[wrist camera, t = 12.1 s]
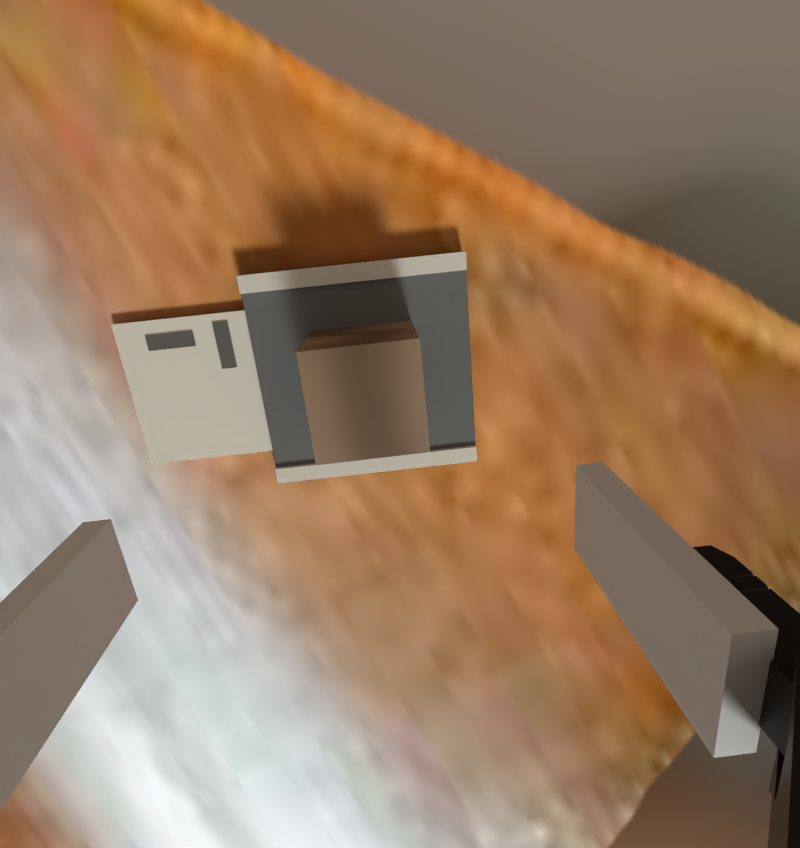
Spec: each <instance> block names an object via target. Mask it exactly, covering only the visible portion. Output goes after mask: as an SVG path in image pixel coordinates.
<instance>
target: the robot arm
mask: <svg viewBox="0 0 800 848" xmlns="http://www.w3.org/2000/svg"><path fill="white" fill-rule="evenodd" d="M575 550H576V551H577V553H578V554H579V556H580V557H581V559H582V560H583V562H584V563H585V565H586V566H587V568H588V569H589V571H590V572H591V574H592V575H593V577H594V578H595V580H596V581H597V583H598V584H599V586H600V587H601V589H602V590H603V592H604V593H605V595H606V596H607V598H608V599H609V601H610V602H611V604H612V605H613V607H614V608H615V610H616V611H617V613H618V614H619V616H620V617H621V619H622V620H623V622H624V623H625V625H626V626H627V628H628V629H629V631H630V632H631V634H632V635H633V637H634V638H635V640H636V641H637V643H638V644H639V646H640V647H641V649H642V650H643V652H644V653H645V655H646V656H647V658H648V660H649V661H650V663H651V664H652V666H653V667H654V669H655V670H656V672H657V673H658V675H659V676H660V678H661V679H662V681H663V682H664V684H665V685H666V687H667V688H668V690H669V691H670V693H671V694H672V696H673V697H674V699H675V700H676V702H677V703H678V705H679V706H680V708H681V709H682V711H683V712H684V714H685V715H686V717H687V718H688V720H689V721H690V723H691V724H692V726H693V727H694V729H695V730H696V732H697V733H698V735H699V736H700V738H701V739H702V741H703V742H704V744H705V745H706V747H707V748H708V750H709V751H710V752H711V754H712V756H713V757H714V758H715V757H723V756H731V755H739V754H747V753H755V752H756V749H757V744H758V738H759V733H760V728H762V729H763V730H764V732H765V733H766V734H767V735H768V737H769V738H770V739H771V740H772V742H773V743H774V744H775V745H776V747H777V753H776V758H775V763H774V768H773V773H772V778H771V783H770V787H769V792H771V793H772V802H771V814H770V826H769V838H768V848H800V614H799V613H798V612H797V611H796V610H795V609H793V608H792V607H791V606H790V605H789V604H788V603H787V602H785V601H784V600H783V599H782V598H781V597H780V596H778V595H777V594H776V593H775V592H774V591H773V590H772V589H768V588H767V585H766V584H765V583H763V582H762V581H761V580H760V579H759V578H758V577H757V576H753V574H752V572H751V571H750V570H748V569H747V568H746V567H745V566H744V565H743V564H742V563H740V562H739V561H738V560H737V559H736V558H735V557H733V556H731V555H729V554H727V553H725V552H723V551H721V550H719V549H717V548H715V547H713V546H711V545H709V546H701V547H692V546H691V545H690V544H689V543H688V542H686V541H685V540H684V539H683V538H682V537H681V536H680V535H679V534H678V533H677V532H676V531H675V530H674V529H673V528H672V527H671V526H670V525H669V524H668V523H666V522H665V521H664V520H663V519H662V518H661V517H660V516H659V515H658V514H657V513H656V512H655V511H654V510H653V509H652V508H651V507H650V506H649V505H647V504H646V503H645V502H644V501H643V500H642V499H641V498H640V497H639V496H638V495H637V494H636V493H635V492H634V491H633V490H632V489H631V488H630V487H628V486H627V485H626V484H625V483H624V482H623V481H622V480H621V479H620V478H619V477H618V476H617V475H616V474H615V473H614V472H613V471H612V470H611V469H610V468H608V467H607V466H606V465H605V464H604V463H603V462H599V463H590V464H581V465H576V493H575ZM137 601H138V599H137V596H136V593H135V590H134V587H133V584H132V581H131V578H130V575H129V572H128V569H127V566H126V563H125V560H124V557H123V554H122V551H121V549H120V546H119V543H118V540H117V537H116V534H115V531H114V528H113V525H112V522H111V519H108V520H100V521H91V522H83V523H82V524H81V525H80V526H79V527H78V528H77V529H76V530H75V531H74V532H73V533H72V534H71V535H70V536H69V537H68V538H67V539H66V540H65V541H63V542H62V543H61V544H60V545H59V546H58V547H57V548H56V549H55V550H54V551H53V552H52V553H51V554H50V555H49V556H48V557H47V558H46V559H45V560H44V561H43V562H42V563H41V564H40V565H39V566H38V567H37V568H36V569H35V570H34V571H33V572H32V573H31V574H29V575H28V576H27V577H26V578H25V579H24V580H23V581H22V582H21V583H20V584H19V585H18V586H17V587H16V588H15V589H14V590H13V591H12V592H11V593H10V594H9V595H8V596H7V597H6V598H5V599H4V600H3V601H2V602H1V603H0V811H1V809H2V808H3V806H4V805H5V803H6V802H7V800H8V798H9V797H10V795H11V794H12V792H13V791H14V789H15V788H16V786H17V785H18V783H19V782H20V780H21V779H22V777H23V775H24V774H25V772H26V771H27V769H28V768H29V766H30V765H31V763H32V762H33V760H34V759H35V757H36V756H37V754H38V753H39V751H40V749H41V748H42V746H43V745H44V743H45V742H46V740H47V739H48V737H49V736H50V734H51V733H52V731H53V730H54V728H55V726H56V725H57V723H58V722H59V720H60V719H61V717H62V716H63V714H64V713H65V711H66V710H67V708H68V707H69V705H70V703H71V702H72V700H73V699H74V697H75V696H76V694H77V693H78V691H79V690H80V688H81V687H82V685H83V684H84V682H85V681H86V679H87V677H88V676H89V674H90V673H91V671H92V670H93V668H94V667H95V665H96V664H97V662H98V661H99V659H100V658H101V656H102V654H103V653H104V651H105V650H106V648H107V647H108V645H109V644H110V642H111V641H112V639H113V638H114V636H115V635H116V633H117V631H118V630H119V628H120V627H121V625H122V624H123V622H124V621H125V619H126V618H127V616H128V615H129V613H130V612H131V610H132V609H133V607H134V605H135V604H136V602H137Z"/></svg>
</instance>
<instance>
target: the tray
mask: <svg viewBox="0 0 800 848" xmlns="http://www.w3.org/2000/svg"><path fill="white" fill-rule="evenodd" d="M466 270H467V262H466V251H459V252H450V253H441V254H431V255H422V256H412V257H403V258H394V259H384V260H375V261H366V262H356V263H347V264H337V265H328V266H319V267H309V268H300V269H290V270H281V271H272V272H262V273H253V274H244V275H238V276H236V277H237V281H238V286H239V291H240V294H241V295H242V300H243V305H244V310H245V315H246V320H247V325H248V330H249V335H250V340H251V345H252V350H253V355H254V360H255V365H256V370H257V375H258V380H259V385H260V390H261V395H262V400H263V405H264V410H265V415H266V420H267V425H268V430H269V435H270V440H271V445H272V450H273V455H274V460H275V465H276V469H275V471H276V476H277V481H278V483H286V482H295V481H303V480H312V479H321V478H330V477H339V476H348V475H357V474H366V473H375V472H384V471H393V470H402V469H410V468H419V467H428V466H437V465H446V464H455V463H464V462H473V461H477V451H476V445H475V428H474V410H473V391H472V372H471V354H470V335H469V316H468V297H467V279H466ZM410 320H411V321H412V323H413V325H414V327H415V329H416V331H417V334H418V336H419V338H420V346H421V357H422V368H423V379H424V390H425V401H426V412H427V422H428V433H429V444H430V452H427V453H418V454H410V455H401V456H392V457H384V458H375V459H367V460H358V461H349V462H341V463H332V464H324V465H316V463H315V457H314V451H313V446H312V440H311V434H310V429H309V423H308V417H307V412H306V406H305V400H304V395H303V389H302V383H301V378H300V372H299V366H298V360H297V355H296V352H297V350H298V349H299V347H300V346H301V344H302V343H303V342H304V340H305V339H306V337H307V336H308V334H309V333H310V332H312V331H321V330H330V329H339V328H348V327H357V326H365V325H374V324H383V323H392V322H401V321H410Z"/></svg>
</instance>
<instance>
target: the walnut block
mask: <svg viewBox="0 0 800 848" xmlns="http://www.w3.org/2000/svg"><path fill="white" fill-rule="evenodd" d="M296 355H297V360H298V366H299V372H300V378H301V383H302V389H303V395H304V400H305V406H306V412H307V417H308V423H309V429H310V434H311V440H312V446H313V451H314V457H315V463H316V465H324V464H332V463H341V462H349V461H358V460H367V459H375V458H384V457H392V456H401V455H410V454H418V453H427V452H430V444H429V433H428V422H427V412H426V401H425V390H424V379H423V368H422V357H421V346H420V338H419V336H418V334H417V331H416V329H415V327H414V325H413V323H412V321H411V320H410V321H401V322H392V323H383V324H374V325H365V326H357V327H348V328H339V329H330V330H321V331H312V332H310V333H309V334H308V336H307V337H306V339H305V340H304V342H303V343H302V344H301V346H300V347H299V349H298V350H297V352H296Z"/></svg>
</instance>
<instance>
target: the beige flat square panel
mask: <svg viewBox="0 0 800 848" xmlns="http://www.w3.org/2000/svg"><path fill="white" fill-rule="evenodd" d="M111 326H112V330H113V333H114V337H115V340H116V344H117V347H118V351H119V354H120V357H121V361H122V364H123V368H124V371H125V375H126V378H127V382H128V385H129V388H130V392H131V395H132V399H133V402H134V406H135V409H136V413H137V416H138V419H139V423H140V426H141V430H142V433H143V437H144V440H145V444H146V447H147V450H148V454H149V457H150V461H151V464H156V463H165V462H174V461H183V460H192V459H201V458H210V457H219V456H228V455H237V454H246V453H255V452H264V451H273V450H272V445H271V440H270V435H269V430H268V425H267V420H266V415H265V410H264V405H263V400H262V395H261V390H260V385H259V380H258V375H257V370H256V365H255V360H254V355H253V350H252V345H251V340H250V335H249V330H248V325H247V320H246V315H245V310H239V311H230V312H220V313H211V314H202V315H192V316H183V317H174V318H164V319H155V320H146V321H136V322H127V323H118V324H112V325H111Z"/></svg>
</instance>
